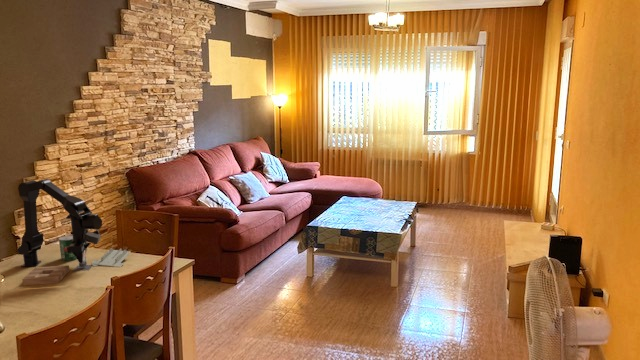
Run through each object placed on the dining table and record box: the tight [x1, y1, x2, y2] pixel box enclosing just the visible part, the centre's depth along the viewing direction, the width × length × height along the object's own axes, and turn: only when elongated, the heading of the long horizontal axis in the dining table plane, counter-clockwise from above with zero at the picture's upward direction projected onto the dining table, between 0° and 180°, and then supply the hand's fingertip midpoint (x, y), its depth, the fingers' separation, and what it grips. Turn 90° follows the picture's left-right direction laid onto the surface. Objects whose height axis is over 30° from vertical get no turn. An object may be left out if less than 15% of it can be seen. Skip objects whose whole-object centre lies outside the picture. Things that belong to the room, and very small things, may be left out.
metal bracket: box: [91, 247, 131, 268], centre depth 238 cm, size 14×6×15 cm
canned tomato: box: [58, 234, 78, 262], centre depth 242 cm, size 8×8×11 cm
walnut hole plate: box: [21, 264, 71, 286], centre depth 220 cm, size 14×14×3 cm
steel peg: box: [78, 250, 88, 267], centre depth 230 cm, size 3×3×8 cm
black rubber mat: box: [72, 264, 94, 272], centre depth 231 cm, size 7×7×1 cm
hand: (82, 261), depth 230 cm, fingers closed on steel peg, 3 cm apart
